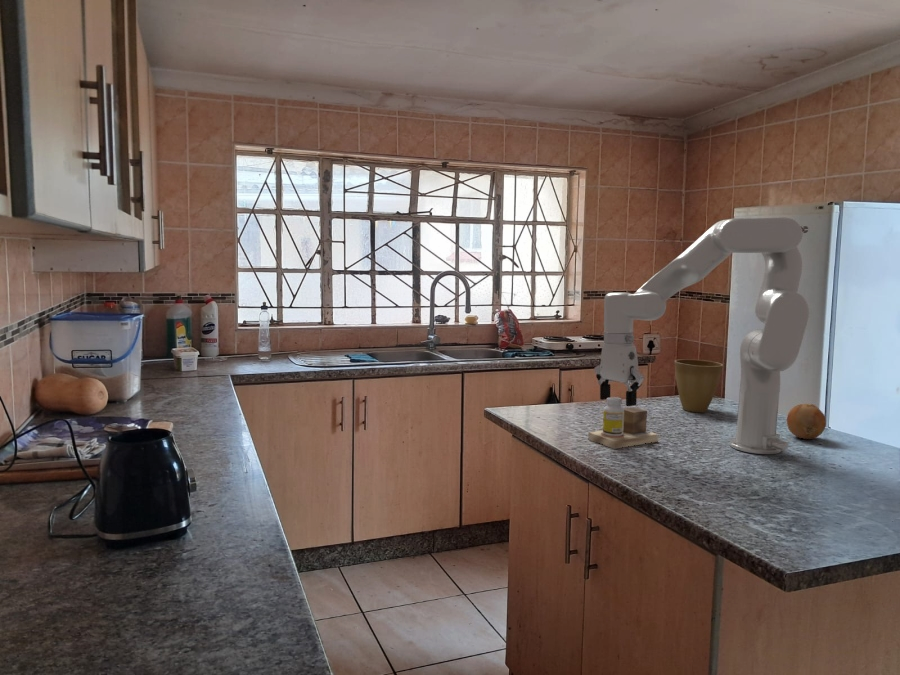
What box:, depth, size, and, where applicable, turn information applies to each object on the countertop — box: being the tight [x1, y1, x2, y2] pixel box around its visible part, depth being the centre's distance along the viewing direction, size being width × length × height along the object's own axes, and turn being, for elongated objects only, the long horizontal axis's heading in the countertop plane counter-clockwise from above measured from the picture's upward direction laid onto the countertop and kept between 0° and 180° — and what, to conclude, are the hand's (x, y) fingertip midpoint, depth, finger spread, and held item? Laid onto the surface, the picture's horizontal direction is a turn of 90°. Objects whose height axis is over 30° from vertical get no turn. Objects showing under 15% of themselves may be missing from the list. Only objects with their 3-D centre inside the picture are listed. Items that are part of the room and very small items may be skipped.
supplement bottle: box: [602, 396, 625, 436], centre depth 179 cm, size 5×5×10 cm
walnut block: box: [623, 406, 648, 434], centre depth 183 cm, size 5×5×6 cm
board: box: [587, 429, 659, 450], centre depth 182 cm, size 10×16×2 cm, turn 120°
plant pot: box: [674, 358, 724, 413], centre depth 220 cm, size 15×15×16 cm
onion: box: [786, 403, 827, 440], centre depth 188 cm, size 10×10×10 cm
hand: (617, 402), depth 179 cm, fingers open, 9 cm apart
